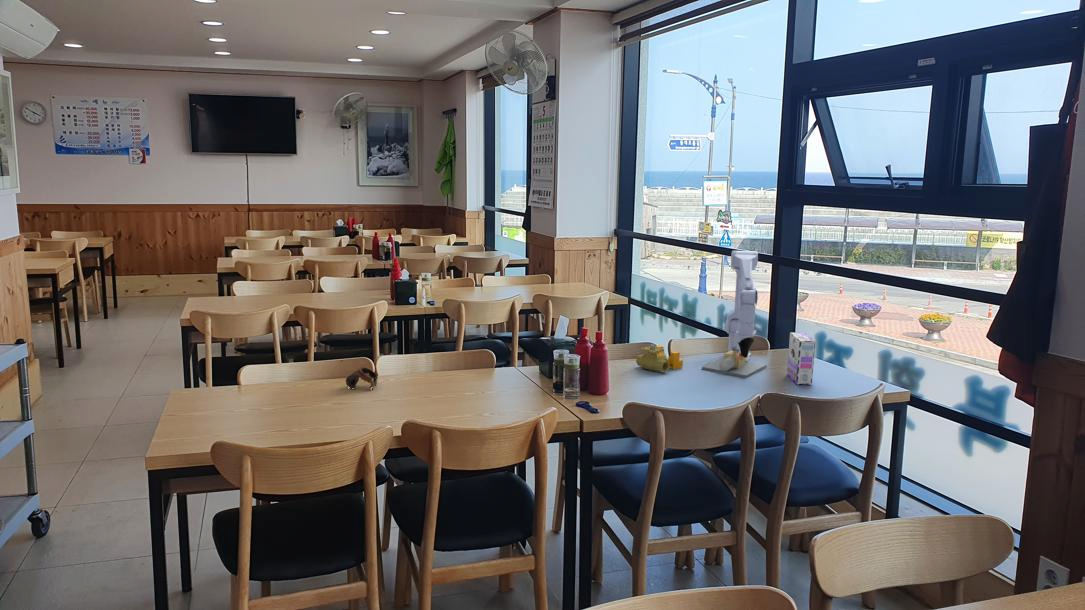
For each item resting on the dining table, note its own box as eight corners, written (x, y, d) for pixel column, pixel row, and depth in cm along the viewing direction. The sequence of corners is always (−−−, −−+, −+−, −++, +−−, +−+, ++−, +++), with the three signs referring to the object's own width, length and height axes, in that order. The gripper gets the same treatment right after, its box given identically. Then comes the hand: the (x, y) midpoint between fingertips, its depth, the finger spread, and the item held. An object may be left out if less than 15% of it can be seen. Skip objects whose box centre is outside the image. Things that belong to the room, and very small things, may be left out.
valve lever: (731, 350, 315) (731, 346, 315) (738, 350, 315) (738, 346, 314) (736, 359, 301) (736, 356, 301) (743, 360, 301) (743, 356, 300)
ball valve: (633, 368, 313) (634, 343, 311) (650, 363, 320) (651, 339, 318) (659, 375, 304) (660, 349, 302) (676, 370, 311) (677, 345, 309)
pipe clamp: (682, 368, 314) (683, 352, 313) (673, 369, 312) (674, 353, 311) (663, 360, 325) (664, 345, 323) (654, 362, 323) (655, 346, 321)
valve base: (723, 359, 328) (724, 342, 326) (766, 367, 317) (767, 349, 315) (701, 369, 313) (702, 351, 311) (746, 378, 302) (747, 359, 301)
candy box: (812, 385, 294) (816, 341, 291) (796, 385, 294) (799, 340, 291) (802, 374, 307) (805, 332, 304) (786, 374, 308) (789, 331, 304)
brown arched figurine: (356, 384, 290) (367, 365, 288) (374, 399, 286) (385, 380, 284) (334, 384, 279) (345, 364, 277) (352, 400, 275) (364, 380, 274)
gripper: (744, 316, 310) (742, 351, 313) (727, 323, 299) (725, 359, 302) (762, 319, 306) (760, 354, 309) (745, 326, 295) (743, 362, 298)
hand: (744, 357), depth 305 cm, fingers closed, pressing on valve lever
